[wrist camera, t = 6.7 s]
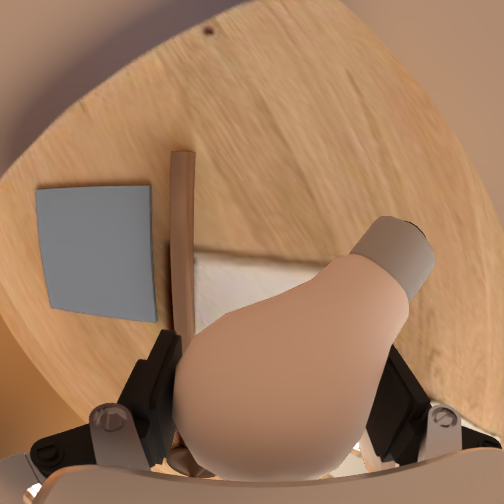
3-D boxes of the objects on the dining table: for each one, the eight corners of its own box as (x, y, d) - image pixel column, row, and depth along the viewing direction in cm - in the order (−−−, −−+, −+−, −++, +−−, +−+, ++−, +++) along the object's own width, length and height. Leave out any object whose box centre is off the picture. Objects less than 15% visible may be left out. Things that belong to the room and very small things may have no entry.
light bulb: (463, 156, 5) (138, 508, 4) (500, 307, 8) (298, 528, 7) (316, 158, 11) (128, 364, 11) (389, 263, 14) (240, 425, 13)
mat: (151, 185, 26) (149, 185, 26) (157, 320, 30) (155, 322, 30) (38, 189, 26) (35, 189, 25) (53, 305, 30) (51, 308, 29)
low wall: (195, 152, 25) (186, 151, 22) (195, 331, 31) (188, 353, 27) (182, 152, 25) (171, 151, 22) (184, 330, 31) (176, 352, 27)
